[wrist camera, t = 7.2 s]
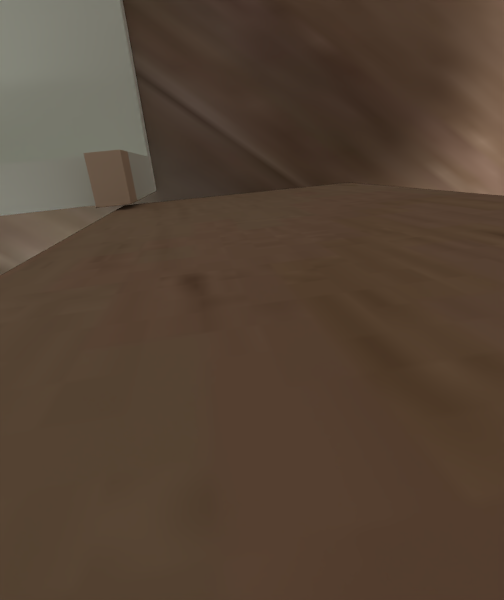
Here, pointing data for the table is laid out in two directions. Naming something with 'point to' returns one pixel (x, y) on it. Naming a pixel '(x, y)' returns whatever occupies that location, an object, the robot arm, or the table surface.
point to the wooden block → (258, 401)
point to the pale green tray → (69, 108)
